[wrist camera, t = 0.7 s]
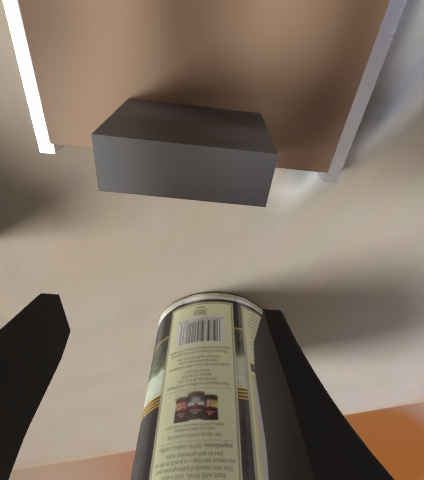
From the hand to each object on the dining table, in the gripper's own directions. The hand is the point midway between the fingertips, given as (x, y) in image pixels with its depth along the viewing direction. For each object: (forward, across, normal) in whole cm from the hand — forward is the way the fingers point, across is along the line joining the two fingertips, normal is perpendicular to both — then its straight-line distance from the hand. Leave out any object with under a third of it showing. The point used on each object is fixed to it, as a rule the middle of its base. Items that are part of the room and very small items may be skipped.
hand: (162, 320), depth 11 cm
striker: (+10, 0, -7) cm, 12 cm away
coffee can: (+10, -3, +14) cm, 17 cm away
